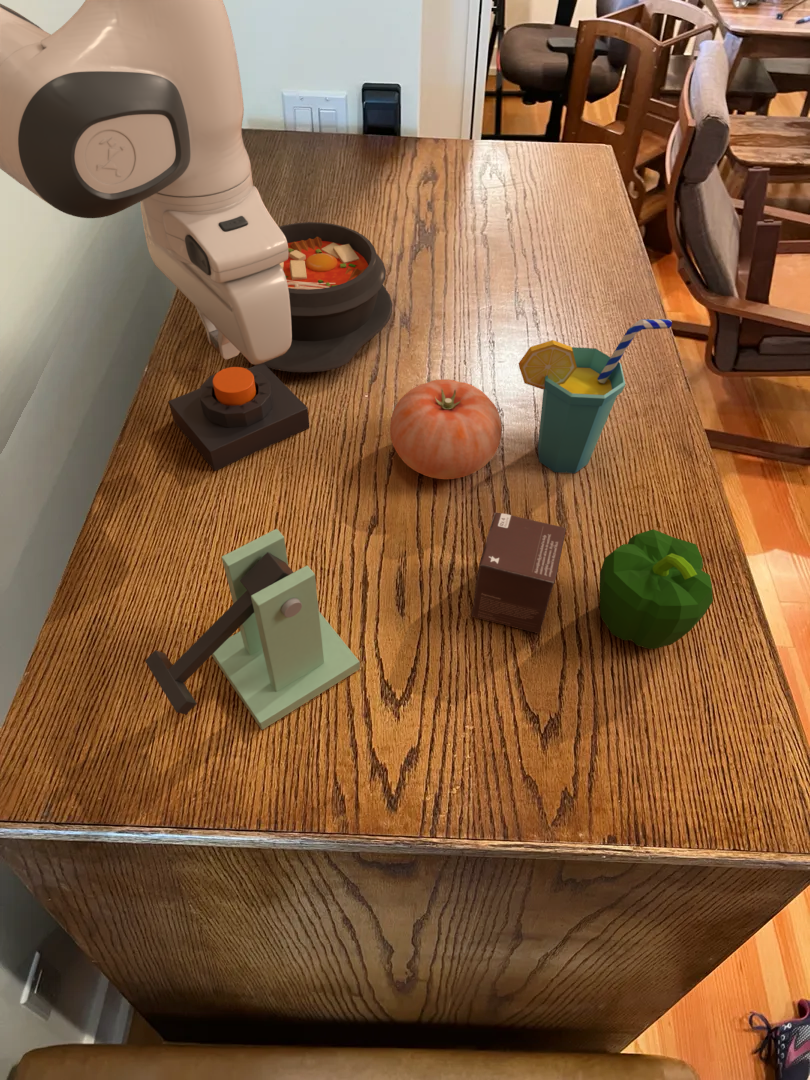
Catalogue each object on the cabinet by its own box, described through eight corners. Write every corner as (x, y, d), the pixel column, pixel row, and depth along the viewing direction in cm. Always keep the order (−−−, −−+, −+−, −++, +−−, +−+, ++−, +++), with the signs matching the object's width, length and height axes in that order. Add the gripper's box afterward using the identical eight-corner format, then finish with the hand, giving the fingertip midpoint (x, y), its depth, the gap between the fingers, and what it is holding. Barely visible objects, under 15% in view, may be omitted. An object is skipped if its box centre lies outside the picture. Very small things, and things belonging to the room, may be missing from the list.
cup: (611, 415, 82) (650, 290, 70) (650, 464, 77) (697, 339, 66) (492, 443, 79) (511, 317, 67) (524, 495, 74) (551, 370, 62)
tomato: (418, 511, 72) (421, 449, 66) (372, 439, 79) (371, 376, 72) (517, 477, 76) (529, 415, 69) (465, 411, 82) (472, 348, 76)
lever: (192, 716, 53) (169, 711, 51) (160, 665, 56) (138, 658, 54) (312, 595, 53) (295, 585, 51) (275, 549, 55) (257, 538, 53)
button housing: (214, 471, 75) (206, 437, 72) (173, 421, 80) (163, 386, 76) (309, 427, 79) (306, 393, 76) (265, 382, 84) (260, 348, 80)
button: (227, 411, 75) (224, 397, 73) (208, 390, 77) (205, 376, 75) (263, 396, 76) (261, 382, 75) (243, 375, 78) (241, 361, 77)
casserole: (377, 394, 83) (377, 328, 77) (209, 378, 84) (195, 311, 78) (403, 269, 99) (405, 206, 93) (262, 257, 100) (253, 194, 94)
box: (539, 636, 64) (554, 584, 58) (469, 618, 65) (477, 565, 59) (552, 580, 68) (567, 526, 62) (485, 564, 69) (495, 509, 63)
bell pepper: (577, 584, 67) (603, 508, 60) (669, 580, 68) (706, 504, 60) (600, 668, 62) (631, 596, 54) (699, 662, 63) (743, 591, 55)
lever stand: (261, 730, 58) (237, 639, 48) (211, 656, 62) (179, 557, 52) (360, 669, 61) (356, 572, 52) (306, 602, 65) (293, 501, 56)
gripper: (109, 166, 66) (145, 308, 76) (225, 275, 55) (248, 421, 66) (177, 149, 68) (203, 288, 79) (300, 250, 58) (310, 394, 69)
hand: (224, 349), depth 72 cm, fingers closed
